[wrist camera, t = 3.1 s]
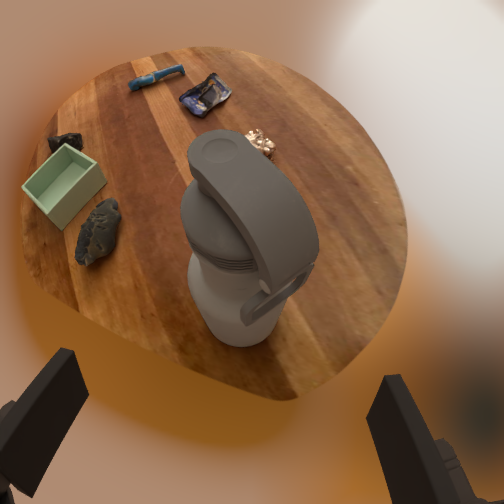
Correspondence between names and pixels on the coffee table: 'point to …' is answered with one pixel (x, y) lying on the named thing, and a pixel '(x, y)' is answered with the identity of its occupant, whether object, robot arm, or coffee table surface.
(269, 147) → the ornament
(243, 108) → the coffee table surface
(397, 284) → the coffee table surface
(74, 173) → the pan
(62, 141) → the rock
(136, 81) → the blue long piece
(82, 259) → the stone
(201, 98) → the snack package
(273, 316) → the water bottle
